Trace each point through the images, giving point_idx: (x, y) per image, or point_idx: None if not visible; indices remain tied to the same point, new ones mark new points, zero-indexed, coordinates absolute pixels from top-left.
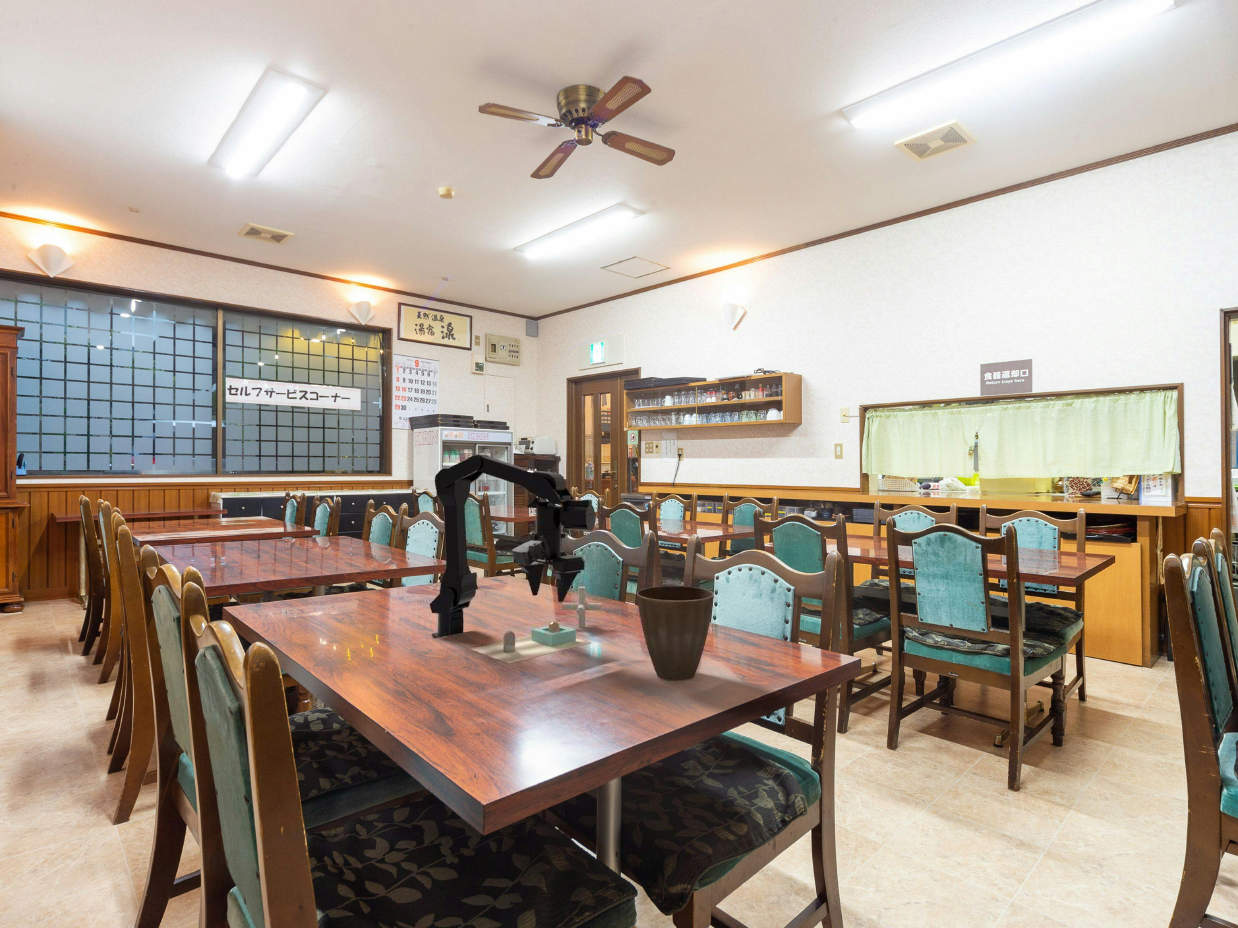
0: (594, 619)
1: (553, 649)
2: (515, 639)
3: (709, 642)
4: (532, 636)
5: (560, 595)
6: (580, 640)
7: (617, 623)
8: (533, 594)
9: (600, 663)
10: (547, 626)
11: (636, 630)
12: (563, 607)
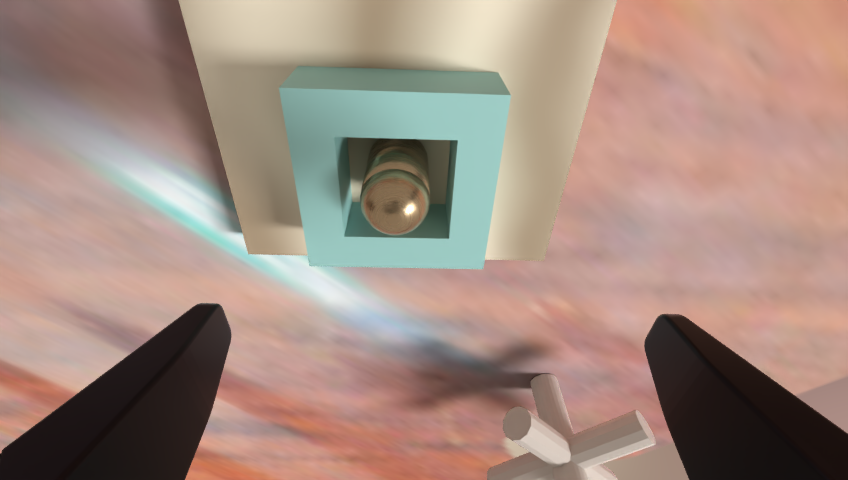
0: None
1: (235, 32)
2: (604, 9)
3: None
4: (493, 80)
5: (128, 362)
6: None
7: (476, 447)
8: (668, 319)
9: (20, 124)
10: (482, 210)
11: (373, 436)
12: (630, 421)
